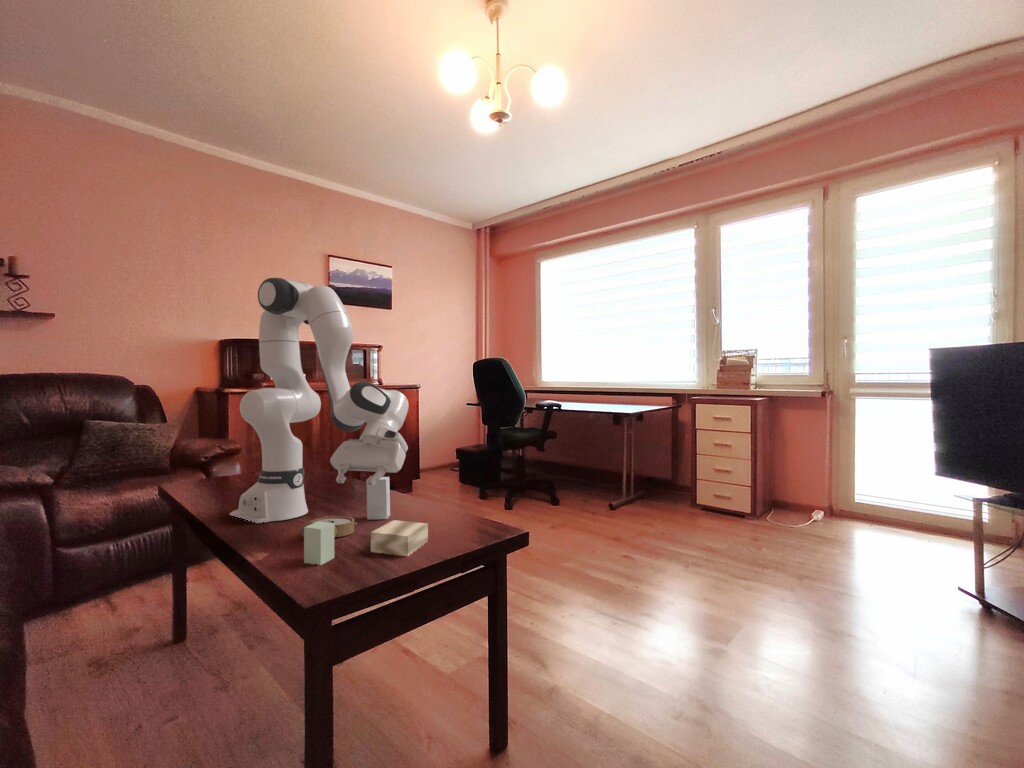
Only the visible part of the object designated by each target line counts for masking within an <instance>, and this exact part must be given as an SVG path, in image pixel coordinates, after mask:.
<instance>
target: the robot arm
mask: <svg viewBox="0 0 1024 768" xmlns="http://www.w3.org/2000/svg"><path fill="white" fill-rule="evenodd" d="M257 300H258V304H259V306H260V307H261V308H262V309H263V312H262V313H261V316H260V319H259V320H260V321H259V328H258V329H259V330H258V345H259V347H258V348H259V362H260V363H259V364H260V368H261V371H262V372H263V373H264V374H266V375H267V376H269V377H270V378H271V380H272V381H273V384H274V386H275V387H263V388H258V389H254V390H250V391H248V392H246V393H245V394H244V395H243V396H242V398H241V400H240V402H239V413H240V416H241V417H242V419H243V420H244V421H245V422H246V423H248V424H249V425H251V427H252V428H253V430H254V431H255V432H256V434H257V436H258V438H259V441H260V445H261V446H260V447H261V458H262V459H261V466H262V467H261V468H262V469H261V470H260V471H257V472H256V471H255V472H254V476H255V477H257V476H258V478H257V479H256V481H257V482H255V483H254V484H253V485H251V487H249V488H248V489H247V490H246V491H245V492H243V493H241V495H240V496H239V497H240V498H239V500H238V508H237V509H235V510H232V511H231V512H230V513H229V515H231V516H235V517H238V518H242V519H245V520H244V521H246V520H248V521H247V522H250V521H252V522H251V523H254V522H255V523H254V524H261V523H262V524H263V522H264V523H269V522H275V521H276V522H278V521H285V520H291V519H294V518H298V517H301V516H304V515H306V514H308V513H309V509H308V505H307V501H306V496H305V488H304V487H305V486H304V479H305V468H304V466H303V463H304V462H303V458H304V457H303V456H304V455H303V442H302V440H301V439H300V438H298V437H297V436H295V435H294V434H293V432H292V430H291V426H290V423H292V424H293V423H300V422H301V423H302V422H305V421H308V420H311V419H313V418H315V417H316V416H318V415H319V413H320V411H321V407H322V401H321V398H320V395H319V394H318V393H317V392H316V391H314V390H313V389H312V388H311V386H310V384H309V383H308V381H307V379H306V377H305V374H304V372H303V368H302V361H301V349H300V348H301V347H300V338H299V337H300V335H299V328H300V325H302V323H303V324H305V325H309V327H310V331H311V333H312V335H313V339H314V342H315V346H316V349H317V354H318V359H319V363H320V368H321V373H322V377H323V380H324V384H325V385H326V389H327V393H328V398H329V399H330V400H329V401H330V411H329V413H330V414H329V415H330V420H331V422H332V423H333V424H334V425H335V426H336V427H337V428H338V429H340V430H342V431H344V432H347V433H348V432H350V433H351V432H357V431H359V430H360V429H361V428H363V426H364V425H365V424H366V425H365V427H364V429H363V431H362V433H361V434H360V436H359V438H355V439H354V438H349V439H347V440H345V441H343V442H342V443H341V444H340V445H339V446H338V447H337V449H336V450H335V451H334V453H333V454H332V455H331V457H330V459H329V462H330V464H331V466H332V467H333V468H334V469H335V470H337V474H338V475H337V477H335V481H336V482H337V484H344V483H345V481H346V480H347V477H346V476H345V474H346V473H347V472H348V471H356V472H359V471H360V472H363V471H364V472H375V473H374V474H373V475H369V477H368V478H369V479H368V478H367V479H368V481H367V482H368V484H369V485H376V482H377V480H379V479H380V478H381V477H385V475H386V473H393V474H394V473H395V474H396V473H398V472H400V471H401V469H402V467H403V465H404V462H405V459H406V456H407V455H406V454H407V451H408V450H409V447H408V444H407V442H406V441H405V440H406V439H404V437H403V436H402V434H401V433H400V432H398V431H400V429H402V427H403V425H404V423H405V421H406V417H407V416H408V415H407V414H408V412H409V406H410V405H409V400H408V398H407V396H406V395H405V394H403V392H401V391H399V390H397V389H384V388H380V387H378V386H377V385H375V384H374V383H372V382H370V381H364V380H363V381H357V382H355V383H354V384H353V385H352V386H351V385H350V383H349V379H348V376H347V373H346V361H347V357H348V354H349V352H350V349H351V346H352V344H353V341H354V336H355V334H354V328H353V324H352V321H351V318H350V316H349V314H348V311H347V310H346V308H345V306H344V304H343V302H342V300H341V298H340V297H339V296H338V293H336V292H335V290H334V289H333V288H332V287H330V286H327V285H316V286H314V285H311V284H309V283H307V282H303V281H296V280H291V279H285V278H282V277H270V278H269V277H268V278H266V279H264V280H263V281H262V282H261V284H260V285H259V287H258V290H257ZM229 515H228V516H229Z"/></svg>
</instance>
